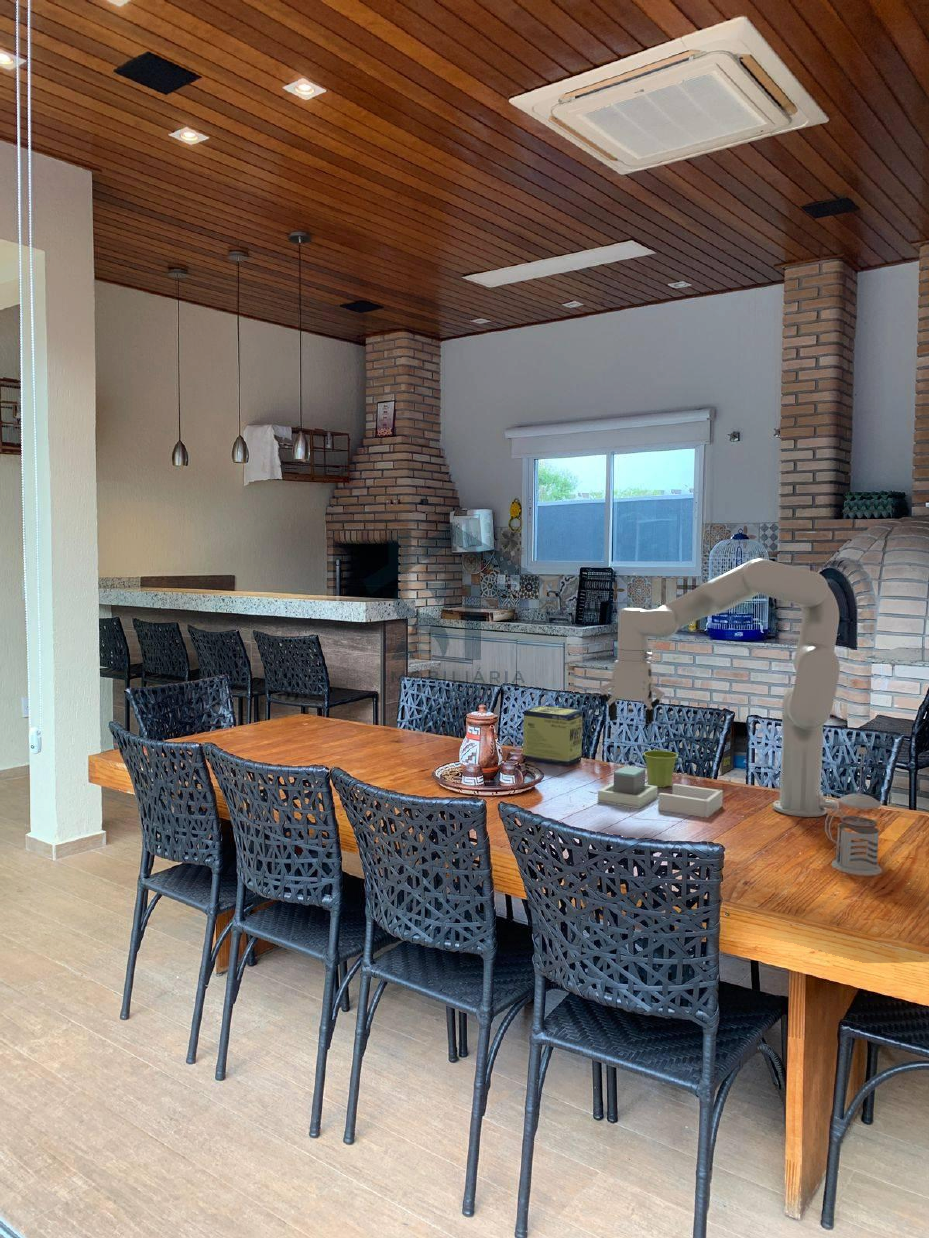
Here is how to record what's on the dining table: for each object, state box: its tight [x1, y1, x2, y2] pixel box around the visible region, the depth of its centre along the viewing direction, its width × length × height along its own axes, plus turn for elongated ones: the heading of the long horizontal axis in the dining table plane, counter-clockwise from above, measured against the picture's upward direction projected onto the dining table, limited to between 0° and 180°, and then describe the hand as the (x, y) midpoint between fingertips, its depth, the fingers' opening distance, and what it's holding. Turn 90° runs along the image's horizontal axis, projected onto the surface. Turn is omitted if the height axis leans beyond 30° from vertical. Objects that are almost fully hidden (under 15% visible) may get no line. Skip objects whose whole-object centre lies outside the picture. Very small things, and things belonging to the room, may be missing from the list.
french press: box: [824, 747, 883, 877], centre depth 191 cm, size 10×12×25 cm
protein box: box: [522, 705, 583, 767], centre depth 286 cm, size 10×16×16 cm
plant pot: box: [642, 749, 679, 788], centre depth 257 cm, size 9×9×9 cm
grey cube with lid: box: [613, 765, 646, 795], centre depth 242 cm, size 6×8×7 cm
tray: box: [597, 781, 658, 809], centre depth 242 cm, size 11×13×3 cm
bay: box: [657, 783, 724, 818], centre depth 235 cm, size 12×12×4 cm
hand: (630, 722), depth 241 cm, fingers open, 9 cm apart
